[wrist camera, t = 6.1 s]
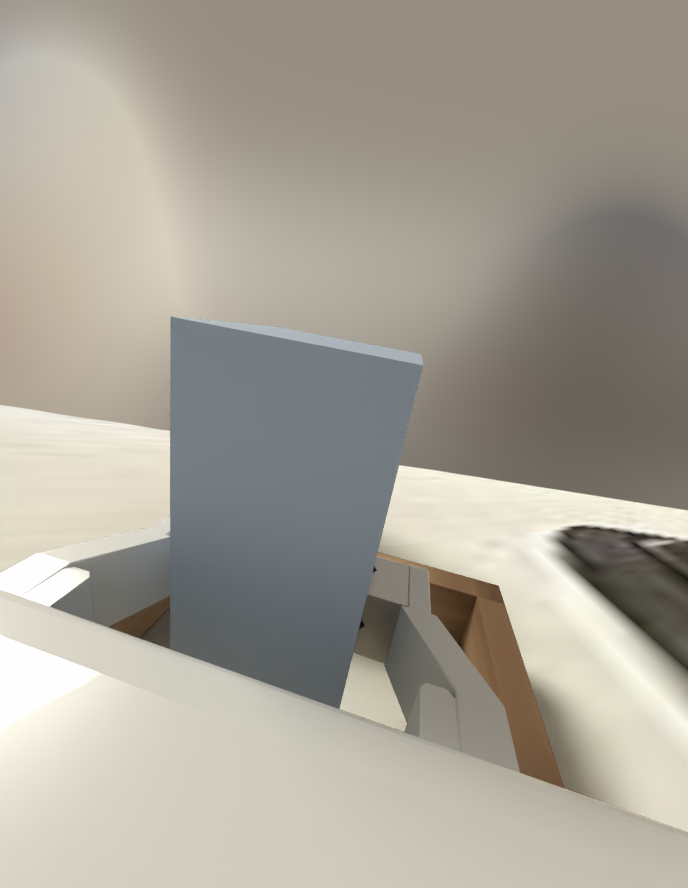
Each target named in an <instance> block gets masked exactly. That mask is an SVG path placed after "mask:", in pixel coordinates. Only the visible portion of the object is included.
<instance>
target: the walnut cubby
mask: <svg viewBox="0 0 688 888" xmlns="http://www.w3.org/2000/svg"><path fill="white" fill-rule="evenodd" d="M377 556H378V557H381V558H385V559H389V560H392V561H396V562H400V563H404V564H407V565H413V566H417V567H421V568H425V569H428V571H429V585H430V605H431V614H432V615H436V616H437V617H438V618H439V620H440V621H441V622H442V624H443V625H444V626H445V628H446V629H447V630H448V632H449V633H450V634H451V636H452V637H453V638H454V640H455V641H456V642H457V644H458V645H459V646H460V648H461V649H462V650H463V652H464V653H465V654H466V656H467V657H468V658H469V660H470V661H471V662H472V664H473V665H474V667H475V668H476V669H477V671H478V672H479V673H480V675H481V676H482V677H483V679H484V680H485V681H486V683H487V684H488V685H489V687H490V688H491V689H492V691H493V692H494V693H495V695H496V696H497V697H498V699H499V700H500V701H501V703H502V704H503V705H504V707H505V710H506V715H507V719H508V723H509V727H510V732H511V736H512V740H513V745H514V749H515V753H516V757H517V762H518V766H519V770H520V773H522V774H525V775H527V776H530V777H533V778H536V779H539V780H542V781H544V782H547V783H550V784H553V785H556V786H559V787H561V788H564V786H563V783H562V780H561V777H560V774H559V771H558V768H557V764H556V761H555V758H554V755H553V752H552V749H551V746H550V743H549V740H548V737H547V734H546V731H545V728H544V724H543V721H542V718H541V715H540V712H539V709H538V706H537V703H536V700H535V697H534V694H533V691H532V687H531V684H530V681H529V678H528V675H527V672H526V669H525V666H524V663H523V660H522V657H521V654H520V650H519V647H518V644H517V641H516V638H515V635H514V632H513V629H512V626H511V623H510V620H509V617H508V614H507V610H506V607H505V604H504V601H503V598H502V595H501V592H500V589H499V586H497V585H494V584H490V583H487V582H483V581H479V580H476V579H472V578H469V577H465V576H462V575H458V574H454V573H451V572H447V571H444V570H440V569H436V568H433V567H429V566H426V565H422V564H418V563H415V562H411V561H408V560H404V559H401V558H397V557H393V556H390V555H386V554H383V553H379V552H377ZM169 607H170V596H169V597H167V598H165V599H163V600H161V601H159V602H157V603H155V604H153V605H151V606H149V607H147V608H145V609H143V610H141V611H139V612H137V613H135V614H133V615H131V616H129V617H127V618H125V619H123V620H121V621H119V622H117V623H115V624H113V625H111V626H109V628H112V629H114V630H117V631H120V632H123V633H126V634H129V635H131V636H134V637H137V638H141V637H142V636H143V635H144V634H145V633H146V632H147V631H148V630H149V628H150V627H151V626H152V625H153V624H154V623H155V622H156V621H157V620H158V619H159V618H160V617H161V616H162V615H163V613H164V612H165V611H166V610H167V609H168V608H169Z"/></svg>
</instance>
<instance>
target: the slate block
mask: <svg viewBox="0 0 688 888" xmlns="http://www.w3.org/2000/svg"><path fill="white" fill-rule="evenodd" d="M422 368H423V361H422V356H421V354H417V353H412V352H406V351H401V350H395V349H390V348H385V347H380V346H375V345H369V344H364V343H358V342H353V341H348V340H343V339H337V338H332V337H327V336H321V335H316V334H311V333H305V332H300V331H295V330H290V329H284V328H279V327H273V326H263V325H253V324H243V323H232V322H221V321H211V320H201V319H190V318H180V317H171V395H170V396H171V397H170V400H171V403H170V405H171V406H170V407H171V410H170V412H171V413H170V416H171V417H170V429H171V430H170V649H171V650H174V651H177V652H180V653H182V654H185V655H188V656H191V657H194V658H197V659H199V660H202V661H205V662H208V663H211V664H214V665H216V666H219V667H222V668H225V669H228V670H231V671H233V672H236V673H239V674H242V675H245V676H248V677H250V678H253V679H256V680H259V681H262V682H264V683H267V684H270V685H273V686H276V687H279V688H281V689H284V690H287V691H290V692H293V693H295V694H298V695H301V696H304V697H307V698H310V699H312V700H315V701H318V702H321V703H324V704H326V705H329V706H332V707H335V708H338V709H339V708H340V704H341V700H342V696H343V692H344V688H345V683H346V679H347V675H348V671H349V667H350V663H351V659H352V655H353V651H354V647H355V642H356V638H357V634H358V630H359V626H360V622H361V618H362V614H363V610H364V606H365V601H366V597H367V593H368V589H369V585H370V581H371V577H372V573H373V569H374V565H375V560H376V556H377V552H378V548H379V544H380V540H381V536H382V532H383V528H384V524H385V520H386V515H387V511H388V507H389V503H390V499H391V495H392V491H393V487H394V483H395V479H396V474H397V470H398V466H399V462H400V458H401V454H402V450H403V446H404V441H405V438H406V433H407V429H408V425H409V421H410V417H411V413H412V409H413V404H414V401H415V396H416V392H417V388H418V384H419V380H420V376H421V372H422Z"/></svg>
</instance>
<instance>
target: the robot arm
mask: <svg viewBox="0 0 688 888" xmlns="http://www.w3.org/2000/svg"><path fill="white" fill-rule="evenodd" d="M169 596H170V515H169V516H168V517H166V518H165V519H163V520H162V521H160V522H159V523H158V524H156V525H155V526H153V527H152V528H150V529H149V530H148V529H145V528H142V529H138V530H134V531H129V532H125V533H121V534H117V535H112V536H108V537H104V538H99V539H95V540H91V541H86V542H82V543H78V544H74V545H69V546H65V547H61V548H56V549H52V550H48V551H44V552H39V553H36V554H35V555H33V556H31V557H29V558H27V559H26V560H24V561H22V562H20V563H18V564H17V565H15V566H13V567H11V568H9V569H8V570H6V571H4V572H2V573H0V888H688V832H686V831H683V830H680V829H677V828H674V827H672V826H669V825H666V824H663V823H660V822H658V821H655V820H652V819H649V818H646V817H643V816H641V815H638V814H635V813H632V812H629V811H626V810H624V809H621V808H618V807H615V806H612V805H609V804H607V803H604V802H601V801H598V800H595V799H592V798H590V797H587V796H584V795H581V794H578V793H575V792H573V791H570V790H567V789H564V788H561V787H559V786H556V785H553V784H550V783H547V782H544V781H542V780H539V779H536V778H533V777H530V776H527V775H525V774H522V773H520V770H519V766H518V762H517V757H516V753H515V749H514V745H513V740H512V736H511V732H510V727H509V723H508V719H507V715H506V710H505V707H504V705H503V704H502V703H501V701H500V700H499V699H498V697H497V696H496V695H495V693H494V692H493V691H492V689H491V688H490V687H489V685H488V684H487V683H486V681H485V680H484V679H483V677H482V676H481V675H480V673H479V672H478V671H477V669H476V668H475V667H474V665H473V664H472V662H471V661H470V660H469V658H468V657H467V656H466V654H465V653H464V652H463V650H462V649H461V648H460V646H459V645H458V644H457V642H456V641H455V640H454V638H453V637H452V636H451V634H450V633H449V632H448V630H447V629H446V628H445V626H444V625H443V624H442V622H441V621H440V620H439V618H438V617H437V616H436V615H432V614H431V605H430V585H429V571H428V569H425V568H421V567H417V566H413V565H407V564H404V563H400V562H396V561H392V560H389V559H385V558H381V557H378V556H376V560H375V565H374V569H373V573H372V577H371V581H370V585H369V589H368V593H367V597H366V601H365V606H364V610H363V614H362V618H361V622H360V626H359V630H358V634H357V638H356V642H355V647H354V651H353V652H354V653H357V654H359V655H362V656H365V657H368V658H370V659H373V660H376V661H379V662H382V663H384V664H385V665H384V666H385V668H386V671H387V673H388V676H389V679H390V681H391V684H392V686H393V689H394V691H395V694H396V696H397V699H398V701H399V704H400V707H401V709H402V712H403V714H404V717H405V719H406V722H407V726H406V728H405V731H404V732H403V731H400V730H397V729H394V728H391V727H389V726H386V725H383V724H380V723H377V722H374V721H372V720H369V719H366V718H363V717H360V716H357V715H355V714H352V713H349V712H346V711H343V710H341V709H338V708H335V707H332V706H329V705H326V704H324V703H321V702H318V701H315V700H312V699H310V698H307V697H304V696H301V695H298V694H295V693H293V692H290V691H287V690H284V689H281V688H279V687H276V686H273V685H270V684H267V683H264V682H262V681H259V680H256V679H253V678H250V677H248V676H245V675H242V674H239V673H236V672H233V671H231V670H228V669H225V668H222V667H219V666H216V665H214V664H211V663H208V662H205V661H202V660H199V659H197V658H194V657H191V656H188V655H185V654H182V653H180V652H177V651H174V650H171V649H168V648H165V647H163V646H160V645H157V644H154V643H151V642H148V641H146V640H143V639H140V638H137V637H134V636H131V635H129V634H126V633H123V632H120V631H117V630H114V629H112V628H109V626H111V625H113V624H115V623H117V622H119V621H121V620H123V619H125V618H127V617H129V616H131V615H133V614H135V613H137V612H139V611H141V610H143V609H145V608H147V607H149V606H151V605H153V604H155V603H157V602H159V601H161V600H163V599H165V598H167V597H169Z"/></svg>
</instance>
